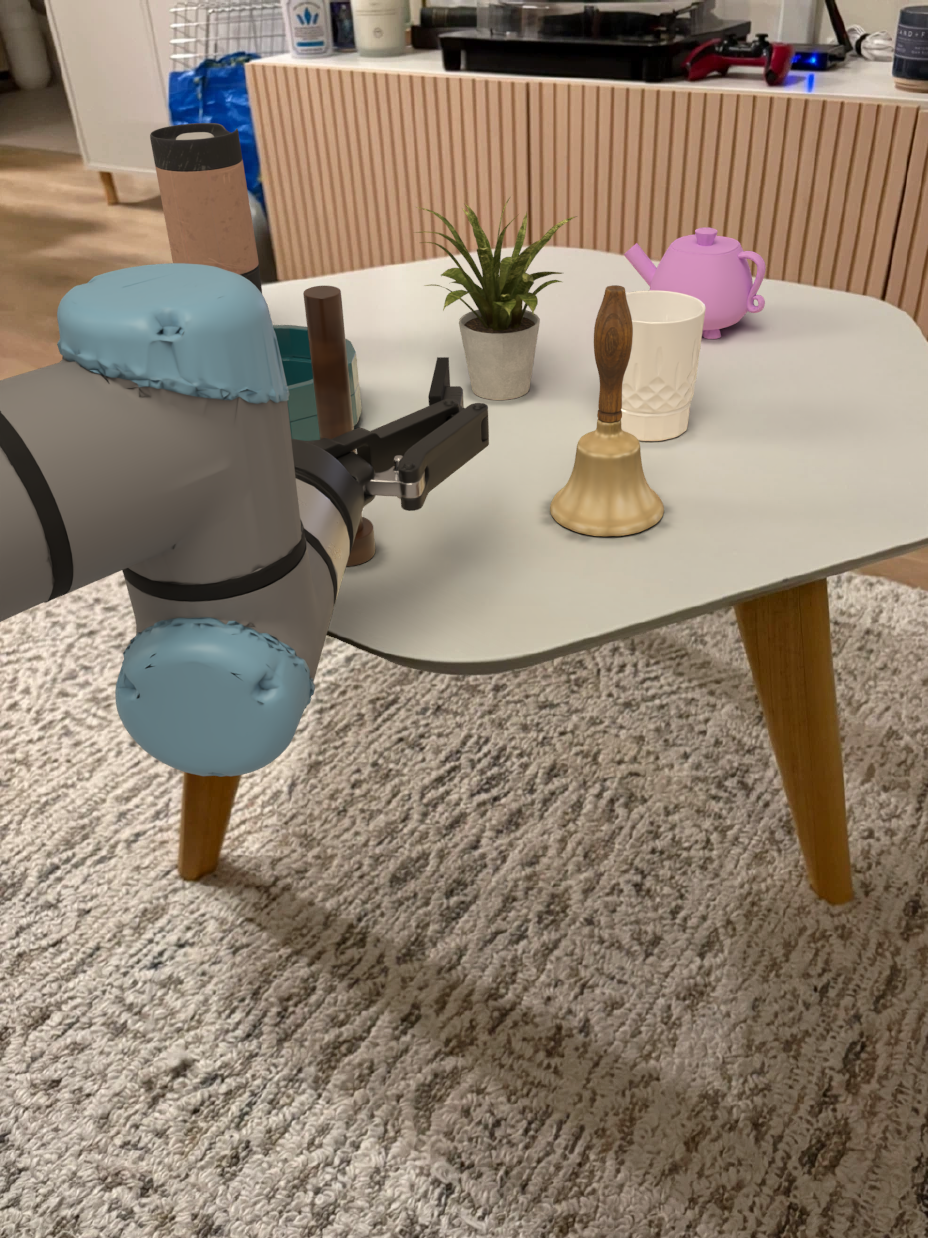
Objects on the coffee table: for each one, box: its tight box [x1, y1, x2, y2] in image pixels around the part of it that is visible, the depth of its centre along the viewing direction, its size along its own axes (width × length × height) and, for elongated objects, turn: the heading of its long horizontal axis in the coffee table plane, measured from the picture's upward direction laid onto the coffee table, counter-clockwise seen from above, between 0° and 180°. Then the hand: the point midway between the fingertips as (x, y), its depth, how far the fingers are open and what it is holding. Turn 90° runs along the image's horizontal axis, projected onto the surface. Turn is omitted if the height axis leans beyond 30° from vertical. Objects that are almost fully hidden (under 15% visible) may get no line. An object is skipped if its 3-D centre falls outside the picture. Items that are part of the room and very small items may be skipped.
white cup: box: [621, 289, 706, 442], centre depth 89 cm, size 8×8×10 cm
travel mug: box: [149, 122, 263, 294], centre depth 101 cm, size 8×8×20 cm
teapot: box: [623, 226, 767, 340], centre depth 109 cm, size 10×15×9 cm
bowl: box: [273, 324, 363, 441], centre depth 92 cm, size 16×16×6 cm
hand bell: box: [549, 284, 665, 537], centre depth 76 cm, size 8×8×16 cm
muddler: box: [302, 285, 376, 567], centre depth 70 cm, size 4×4×18 cm
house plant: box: [412, 194, 578, 401], centre depth 94 cm, size 14×14×16 cm
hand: (342, 376), depth 73 cm, fingers open, 13 cm apart
